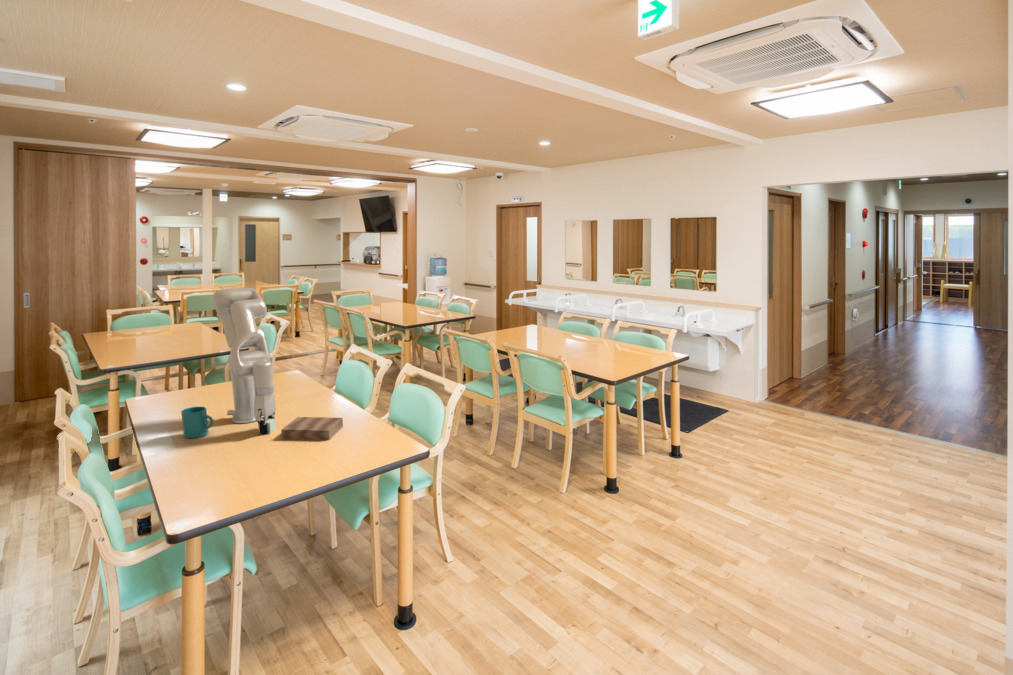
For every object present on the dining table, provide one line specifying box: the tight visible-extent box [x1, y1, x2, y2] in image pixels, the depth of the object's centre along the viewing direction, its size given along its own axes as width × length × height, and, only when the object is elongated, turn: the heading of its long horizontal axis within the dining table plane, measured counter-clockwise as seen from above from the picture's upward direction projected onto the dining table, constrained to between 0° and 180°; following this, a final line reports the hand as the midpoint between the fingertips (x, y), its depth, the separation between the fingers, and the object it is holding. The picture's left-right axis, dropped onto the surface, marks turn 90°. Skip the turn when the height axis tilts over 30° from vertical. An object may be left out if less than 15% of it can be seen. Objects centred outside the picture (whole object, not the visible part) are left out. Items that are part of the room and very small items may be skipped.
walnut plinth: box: [280, 416, 344, 441], centre depth 228 cm, size 20×16×4 cm
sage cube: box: [257, 418, 277, 435], centre depth 229 cm, size 5×5×5 cm
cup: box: [180, 406, 215, 439], centre depth 223 cm, size 9×12×11 cm
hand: (267, 430), depth 229 cm, fingers open, 5 cm apart
